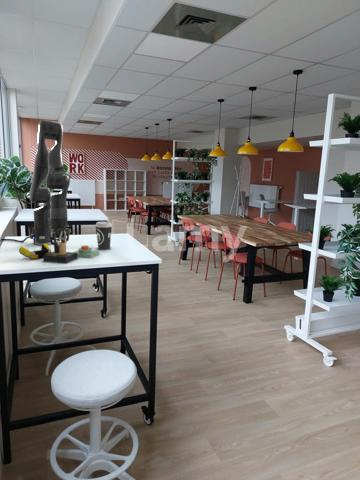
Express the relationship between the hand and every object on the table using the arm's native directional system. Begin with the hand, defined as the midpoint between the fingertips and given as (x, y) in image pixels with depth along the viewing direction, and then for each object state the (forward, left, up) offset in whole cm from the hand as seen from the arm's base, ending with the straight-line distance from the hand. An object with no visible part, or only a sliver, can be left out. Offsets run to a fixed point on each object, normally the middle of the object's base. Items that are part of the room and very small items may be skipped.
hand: (60, 251), depth 164 cm
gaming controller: (-14, +2, -4) cm, 15 cm away
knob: (0, 0, -1) cm, 1 cm away
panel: (0, 0, -4) cm, 4 cm away
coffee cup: (+8, +31, -4) cm, 32 cm away
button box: (+6, +13, -4) cm, 15 cm away
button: (+6, +13, -1) cm, 14 cm away
